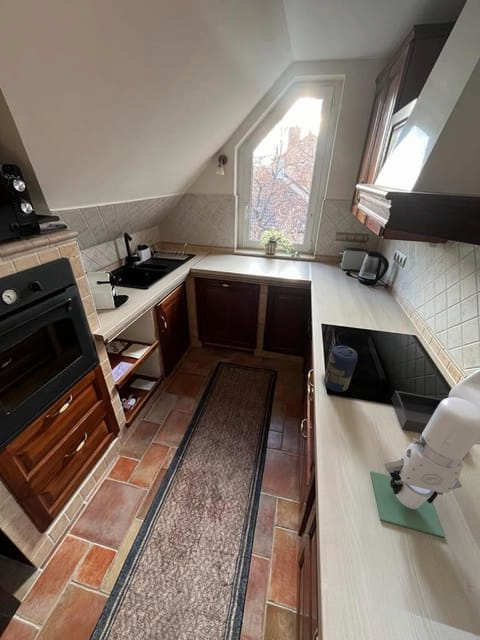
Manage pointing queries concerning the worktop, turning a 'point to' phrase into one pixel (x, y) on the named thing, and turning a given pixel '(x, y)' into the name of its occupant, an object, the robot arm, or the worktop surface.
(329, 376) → the canister
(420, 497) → the white short cylinder
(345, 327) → the worktop surface
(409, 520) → the drying mat
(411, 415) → the basin
